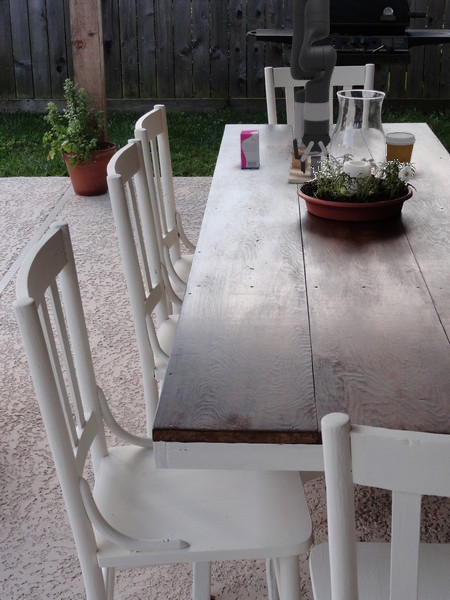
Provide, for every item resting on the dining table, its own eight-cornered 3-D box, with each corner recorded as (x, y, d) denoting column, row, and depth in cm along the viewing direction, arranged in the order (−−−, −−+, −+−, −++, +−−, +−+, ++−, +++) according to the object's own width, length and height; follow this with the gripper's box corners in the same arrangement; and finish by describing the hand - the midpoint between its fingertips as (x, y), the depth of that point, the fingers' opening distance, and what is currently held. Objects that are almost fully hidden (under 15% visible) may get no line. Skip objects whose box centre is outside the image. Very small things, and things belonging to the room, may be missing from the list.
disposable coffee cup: (414, 170, 247) (417, 132, 242) (412, 178, 239) (415, 139, 234) (383, 169, 250) (385, 131, 245) (380, 177, 241) (382, 138, 236)
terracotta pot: (290, 164, 254) (290, 146, 251) (309, 164, 253) (309, 146, 251) (290, 169, 248) (290, 151, 246) (309, 169, 248) (309, 151, 245)
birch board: (291, 162, 260) (291, 141, 257) (322, 162, 258) (322, 141, 256) (288, 182, 238) (288, 159, 235) (322, 182, 237) (322, 159, 234)
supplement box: (259, 164, 259) (259, 129, 254) (258, 169, 254) (258, 133, 249) (242, 164, 260) (241, 129, 255) (240, 169, 254) (240, 133, 250)
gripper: (341, 114, 235) (339, 169, 241) (292, 114, 236) (292, 169, 243) (341, 119, 228) (340, 176, 235) (291, 119, 229) (291, 176, 236)
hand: (315, 172), depth 239 cm, fingers open, 6 cm apart
